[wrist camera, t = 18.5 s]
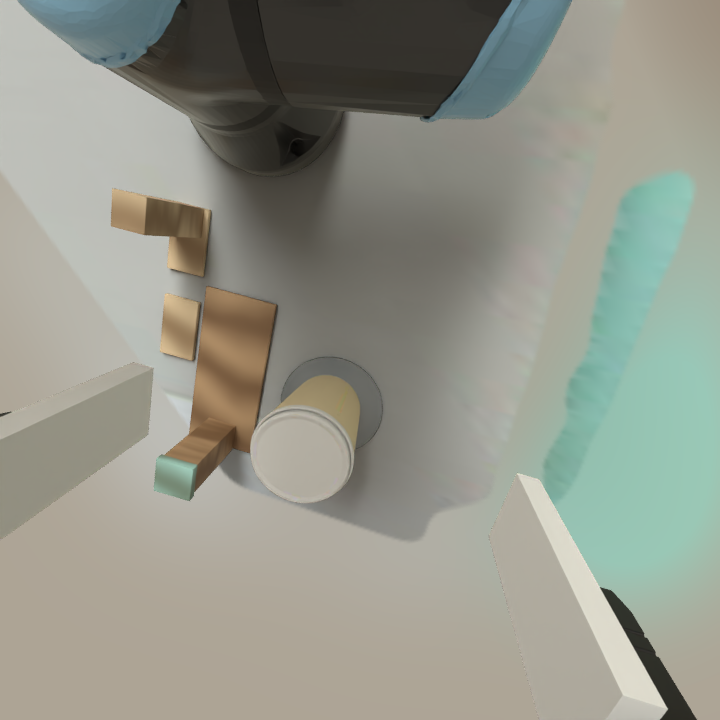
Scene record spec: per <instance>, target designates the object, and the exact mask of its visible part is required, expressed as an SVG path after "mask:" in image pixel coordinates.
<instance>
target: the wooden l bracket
mask: <svg viewBox="0 0 720 720" xmlns="http://www.w3.org/2000/svg"><path fill="white" fill-rule="evenodd" d="M276 308H277V305H276V304H272V303H269V302H265V301H261V300H258V299H254V298H250V297H247V296H243V295H239V294H235V293H232V292H228V291H224V290H221V289H217V288H213V287H210V286H207V287H206V294H205V302H204V311H203V319H202V328H201V337H200V345H199V354H198V362H197V371H196V379H195V388H194V396H193V405H192V414H191V422H190V431H189V435H188V436H186V437H185V438H184V439H183V440H182V441H181V442H179V443H178V444H177V445H176V446H174V447H173V448H172V449H171V450H170V451H168V452H167V453H166V454H165V455H160V456H159V457H158V458H157V459H156V471H155V482H154V491H157V492H161V493H164V494H167V495H171V496H174V497H177V498H180V499H184V500H187V501H190V500H191V499H192V497H193V496H194V492H195V491H196V490H197V489H198V488H199V486H200V485H201V484H202V483H203V482H204V481H205V480H206V479H207V477H208V476H209V475H210V474H211V473H212V472H213V471H214V470H215V468H216V467H217V466H218V465H219V464H220V463H221V462H222V461H223V459H224V458H225V457H226V456H227V455H228V454H229V453H230V452H231V450H232V448H234V449H237V450H240V451H244V452H247V453H250V444H251V439H252V435H253V433H254V430H255V426H256V420H257V415H258V409H259V404H260V398H261V392H262V387H263V381H264V375H265V370H266V364H267V359H268V353H269V347H270V342H271V336H272V330H273V325H274V319H275V313H276Z"/></svg>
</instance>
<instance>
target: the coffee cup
mask: <svg viewBox="0 0 720 720" xmlns="http://www.w3.org/2000/svg"><path fill="white" fill-rule="evenodd" d="M359 417H360V402H359V399H358V396H357V394H356V392H355V390H354V389H353V388H352V387H351V385H350V384H349V383H347V382H346V381H345V380H343V379H341V378H339V377H336V376H332V375H319V376H315V377H312V378H310V379H309V380H307V381H306V382H304V383H303V384H302V385H301V386H299V387H298V388H297V389H296V390H295V391H294V392H293V393H292V394H291V395H290V396H289V397H287V398H286V399H285V400H284V401H283V402H282V403H281V404H280V405H279V406H278V407H277V408H276V409H275V410H273V411H272V412H271V413H269V414H268V415H267V416H265V417H264V418H263V419H262V420H261V421H260V423H259V424H258V425H257V427H256V429H255V430H254V433H253V435H252V439H251V444H250V453H251V462H252V465H253V468H254V471H255V473H256V475H257V476H258V478H259V479H260V481H261V482H262V483H263V484H264V486H265V487H266V488H267V489H269V490H270V491H271V492H273V493H274V494H275V495H277V496H279V497H281V498H283V499H285V500H288V501H292V502H296V503H314V502H319V501H322V500H325V499H327V498H329V497H331V496H332V495H334V494H335V493H337V492H338V491H339V490H341V489H342V488H343V486H344V485H345V484H346V483H347V481H348V479H349V478H350V476H351V473H352V470H353V466H354V451H355V445H356V438H357V431H358V424H359Z"/></svg>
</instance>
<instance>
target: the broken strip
mask: <svg viewBox="0 0 720 720" xmlns="http://www.w3.org/2000/svg"><path fill="white" fill-rule="evenodd" d="M210 217H211V210H207V209H204V208H200V207H196V206H192V205H188V204H184V203H180V202H177V201H171V200H166V199H161V198H156V197H152V196H147V195H142V194H137V193H132V192H127V191H123V190H118V189H113V188H112V212H111V226H112V227H116V228H120V229H123V230H127V231H131V232H135V233H138V234H142V235H152V236H170V239H169V251H168V263H167V267H168V268H171V269H175V270H179V271H182V272H186V273H190V274H194V275H197V276H201V277H202V276H204V269H205V260H206V252H207V243H208V234H209V225H210ZM200 304H201V302H197V301H193V300H190V299H186V298H182V297H179V296H175V295H171V294H168V293H167V294H165V299H164V311H163V323H162V335H161V347H160V352H163V353H166V354H170V355H174V356H177V357H181V358H184V359H188V360H191V361H192V360H194V357H195V348H196V340H197V331H198V322H199V313H200Z"/></svg>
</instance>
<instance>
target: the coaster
mask: <svg viewBox="0 0 720 720" xmlns="http://www.w3.org/2000/svg"><path fill="white" fill-rule="evenodd" d="M319 375H332V376H336V377H339V378H341V379H343V380H345V381H346V382H347V383H349V384H350V385H351V387H352V388H353V389H354V390H355V392H356V394H357V396H358V399H359V402H360V417H359V424H358V431H357V438H356V445H355V449H357V448H359V447H361V446H363V445H364V444H365V443H367V442H368V441H369V440H370V439H371V438H372V437H373V435H374V434H375V432H376V431H377V429H378V427H379V424H380V421H381V417H382V399H381V395H380V392H379V389H378V387H377V385H376V384H375V382H374V381H373V379H372V378H371V377H370V376H369V374H368V373H367V372H365V371H364V370H363V369H362V368H361V367H359V366H357V365H356V364H354V363H352V362H350V361H347V360H344V359H340V358H335V357H322V358H316V359H313V360H310V361H308V362H306V363H304V364H302V365H301V366H299V367H298V368H297V369H296V370H295V371H294V372H293V373H292V374H291V375H290V376H289V378H288V379H287V381H286V383H285V385H284V387H283V391H282V395H281V403H282V402H283V401H284V400H285V399H286V398H287V397H289V396H290V395H291V394H292V393H293V392H294V391H295V390H296V389H297V388H298V387H299V386H301V385H302V384H303V383H304V382H306V381H307V380H309V379H310V378H312V377H315V376H319Z"/></svg>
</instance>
